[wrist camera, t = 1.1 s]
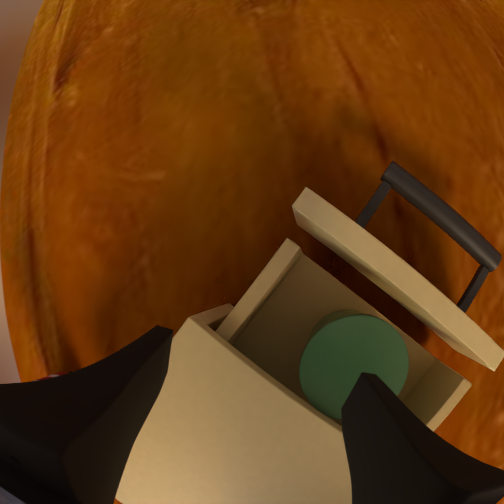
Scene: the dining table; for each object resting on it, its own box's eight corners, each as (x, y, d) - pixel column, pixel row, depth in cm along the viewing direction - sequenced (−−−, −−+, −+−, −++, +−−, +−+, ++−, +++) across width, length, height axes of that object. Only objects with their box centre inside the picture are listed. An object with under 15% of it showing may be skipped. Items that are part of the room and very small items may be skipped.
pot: (402, 337, 18) (430, 356, 13) (348, 402, 18) (358, 438, 13) (338, 286, 19) (348, 291, 14) (284, 355, 19) (275, 380, 14)
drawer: (348, 154, 20) (359, 114, 15) (498, 279, 18) (545, 279, 12) (188, 365, 21) (151, 391, 16) (342, 474, 19) (346, 522, 13)
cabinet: (228, 302, 22) (188, 316, 15) (394, 425, 19) (422, 480, 12) (131, 428, 23) (80, 466, 15) (272, 526, 20) (258, 584, 13)
